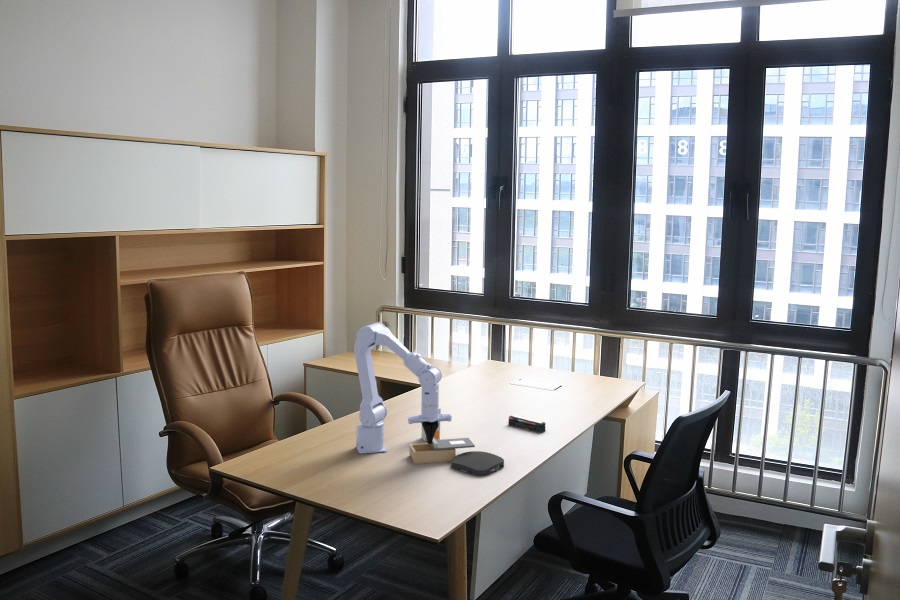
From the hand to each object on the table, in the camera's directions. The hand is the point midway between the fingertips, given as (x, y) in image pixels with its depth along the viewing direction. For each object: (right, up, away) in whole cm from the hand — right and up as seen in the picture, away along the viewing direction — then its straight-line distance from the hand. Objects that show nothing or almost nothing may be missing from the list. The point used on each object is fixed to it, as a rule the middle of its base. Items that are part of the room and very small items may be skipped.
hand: (429, 442), depth 259 cm
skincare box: (0, -3, +20) cm, 20 cm away
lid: (+7, -1, +2) cm, 8 cm away
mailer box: (+1, -5, +1) cm, 6 cm away
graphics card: (+35, -1, +37) cm, 51 cm away
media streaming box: (+16, -7, -5) cm, 18 cm away
